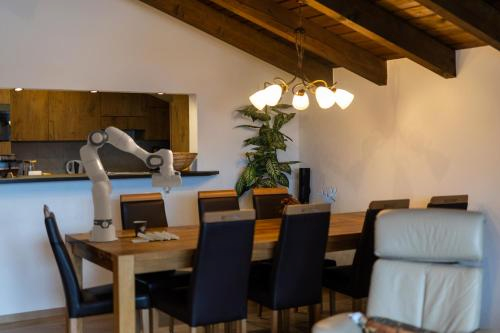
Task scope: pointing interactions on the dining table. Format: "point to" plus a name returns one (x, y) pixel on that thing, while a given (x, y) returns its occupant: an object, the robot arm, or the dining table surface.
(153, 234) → the domino
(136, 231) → the coffee mug
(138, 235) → the domino
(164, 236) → the domino
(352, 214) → the dining table surface
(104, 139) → the robot arm
